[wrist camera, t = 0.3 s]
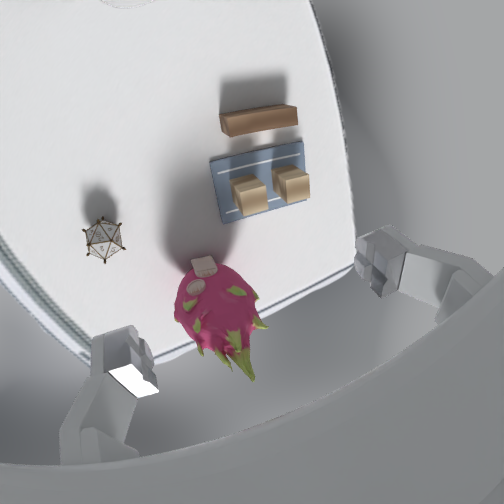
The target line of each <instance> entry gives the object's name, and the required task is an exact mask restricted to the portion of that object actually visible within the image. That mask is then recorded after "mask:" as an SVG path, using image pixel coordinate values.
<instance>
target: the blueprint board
mask: <svg viewBox="0 0 504 504" xmlns="http://www.w3.org/2000/svg"><path fill="white" fill-rule="evenodd" d="M292 164H293V165H294V166H296V167H298V168H299V169H301V170H302V171H304V172H305V156H304V142H302V141H300V142H295V143H290V144H284V145H279V146H274V147H270V148H265V149H260V150H256V151H251V152H247V153H243V154H239V155H234V156H230V157H226V158H222V159H218V160H215V161H211V162H210V167H211V172H212V177H213V181H214V186H215V191H216V195H217V200H218V205H219V209H220V214H221V218H222V223H223V224H227V223H230V222H233V221H237V220H240V219H243V218H247V217H250V216H253V215H257V214H260V213H264V212H267V211H271V210H274V209H277V208H281V207H284V206H288V205H292V204H295V203H299V202H302V201H306V200H307V199H304V200H300V201H296V202H293V203H289V204H287V203H286V202H285V201H284V200H283V199H282V198H281V197H280V196H278V195H277V194H276V193H275V192H274V191H273V183H272V174H271V169H275V168H279V167H283V166H288V165H292ZM305 173H306V172H305ZM250 174H254V175H255V176H256V177H257V178H258V179H259V180H260V181H261V182H262V183H264V184H265V185H266V191H267V200H268V208H269V209H268V210H265V211H261V212H258V213H254V214H251V215H248V216H243V215H242V213H241V212H240V211H239V209H238V208H237V206H236V205H235V204H234V202H233V198H232V192H231V187H230V182H229V180H231V179H235V178H238V177H242V176H246V175H250Z"/></svg>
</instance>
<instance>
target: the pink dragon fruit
mask: <svg viewBox="0 0 504 504" xmlns="http://www.w3.org/2000/svg"><path fill="white" fill-rule="evenodd" d="M191 263H192V266H193V269H192V270H190V271H189V272H188V273H187V274H186V275H185V277H184V278H183V279H182V281H181V283H180V285H179V288H178V292H177V298H176V301H175V304H174V305H175V311H174V318H175V321H176V322H180V323H181V324H182V326H183V327H184V329H185V331H186V332H187V334H188V335H189V336H190V337H191V338H192V339H193V340H194V341H196V343H197V347H198V351H199V353H200V354H201V356H204V354H203V349H204V348H208V349H210V350H212V351H214V352H215V354H216V355H217V356H218V357H219V359H220V360H221V361H222V362H223V363H224V364H226V365H228V367H230V368H231V369H232V367H231V363H230V362H229V360H228V359H227V357H226V354H227V355H228V356H229V357H230V358H231V359H232V360H233V361H234V362H235V363H236V364H237V365H238V366H239V367H240V368H241V369H242V370H243V372H244V373H245V374H246V375H247V376H248V377H249V378H250V379H251V381H252V382H254V380H255V375H254V372H253V369H252V366H251V363H250V343H249V336H250V334H251V333H252V331H253V330H255V329H259V328H260V329H267V328H268V326H265V325H264V324H263V323H262V321H261V319H260V317H259V315H258V313H257V311H256V308H255V302H256V301H257V300H259V297H258V295H257V294H256V292H255V291H254V290H253V288H252V287H251V286H250V285H248V284H247V283H246V282H245V281H244V280H243V278H242V277H241V276H240V275H239V274H238V273H237V272H235V271H234V270H233V269H231V268H229V267H227V266H225V265H222V264H218V263H215V262H214V260H213V258H212V256H206V257H201V258H195V259H191Z"/></svg>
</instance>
